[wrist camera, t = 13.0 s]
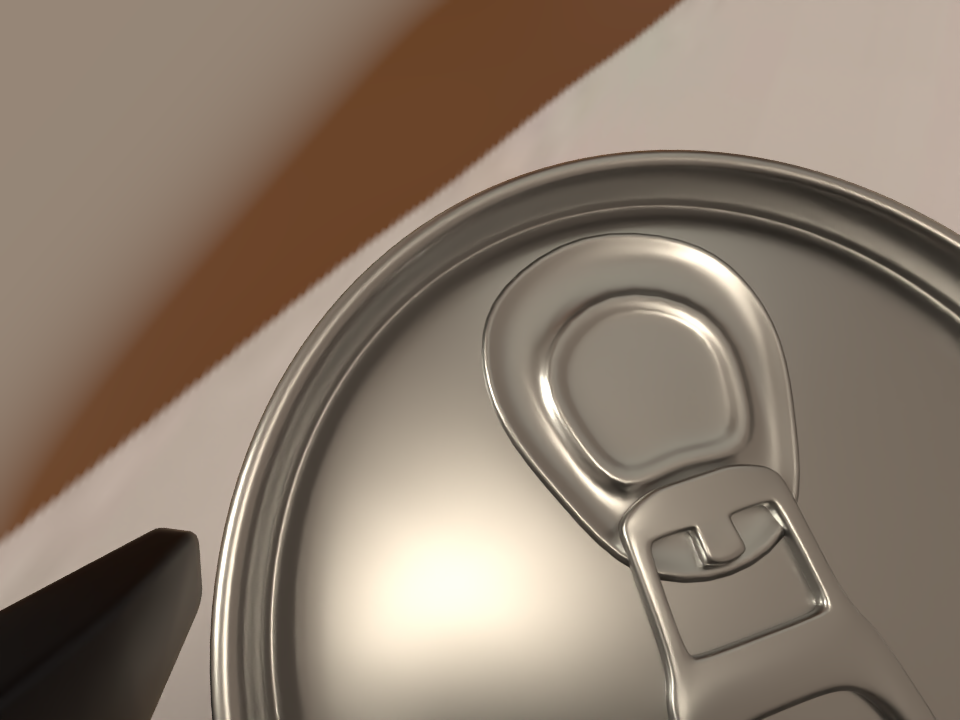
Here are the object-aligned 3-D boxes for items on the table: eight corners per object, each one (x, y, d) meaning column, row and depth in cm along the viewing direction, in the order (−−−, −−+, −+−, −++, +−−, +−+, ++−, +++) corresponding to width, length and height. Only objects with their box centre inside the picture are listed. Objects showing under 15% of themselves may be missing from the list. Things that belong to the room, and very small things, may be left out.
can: (598, 430, 16) (931, 21, 5) (708, 705, 14) (1747, 1081, 3) (346, 509, 15) (56, 220, 4) (421, 818, 13) (248, 2100, 2)
